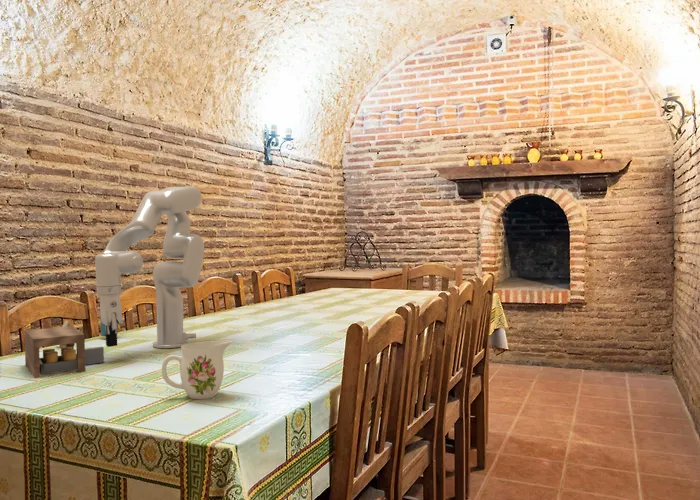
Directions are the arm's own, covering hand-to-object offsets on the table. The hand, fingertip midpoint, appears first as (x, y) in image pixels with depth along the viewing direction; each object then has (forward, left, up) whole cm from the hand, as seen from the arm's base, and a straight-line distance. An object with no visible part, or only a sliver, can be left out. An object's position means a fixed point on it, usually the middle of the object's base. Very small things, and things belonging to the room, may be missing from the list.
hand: (111, 345), depth 199 cm
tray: (+12, +1, -5) cm, 14 cm away
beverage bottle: (-10, -45, -5) cm, 47 cm away
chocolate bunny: (+7, -38, -5) cm, 39 cm away
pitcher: (-8, +59, -5) cm, 59 cm away
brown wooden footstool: (+17, +1, -5) cm, 18 cm away
